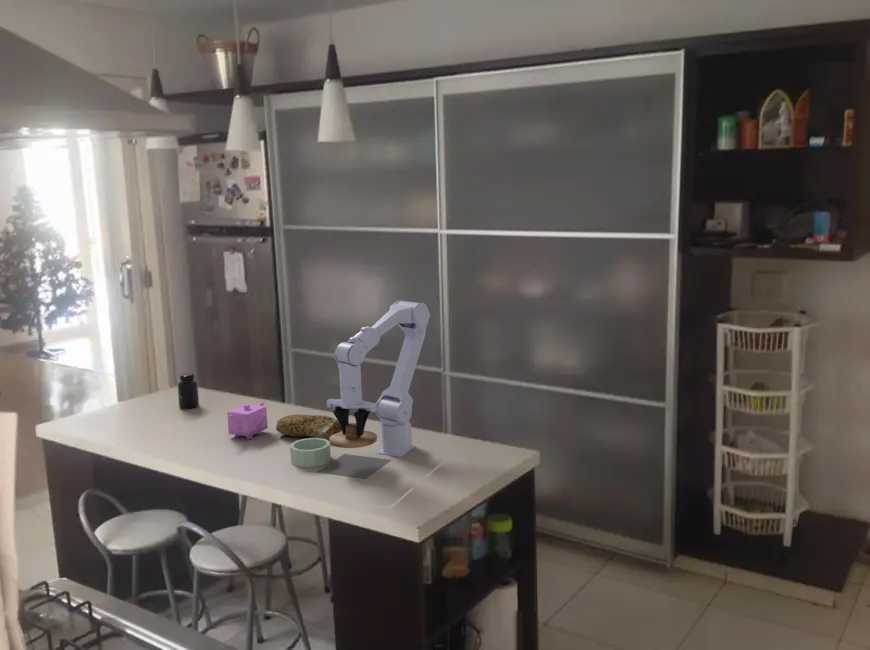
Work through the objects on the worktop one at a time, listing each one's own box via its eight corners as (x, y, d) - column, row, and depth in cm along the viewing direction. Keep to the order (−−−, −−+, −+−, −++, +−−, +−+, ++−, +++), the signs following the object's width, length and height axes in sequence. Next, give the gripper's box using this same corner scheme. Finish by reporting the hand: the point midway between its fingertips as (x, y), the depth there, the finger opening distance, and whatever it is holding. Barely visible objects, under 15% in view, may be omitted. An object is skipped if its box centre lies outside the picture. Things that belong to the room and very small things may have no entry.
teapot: (248, 446, 242) (246, 415, 241) (214, 441, 248) (212, 410, 246) (285, 429, 258) (283, 399, 256) (252, 424, 264) (250, 395, 262)
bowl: (305, 452, 235) (304, 436, 235) (337, 457, 231) (337, 440, 230) (283, 465, 226) (282, 448, 225) (317, 470, 221) (316, 452, 220)
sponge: (346, 438, 252) (300, 416, 262) (346, 417, 248) (299, 395, 258) (317, 457, 242) (270, 434, 252) (316, 436, 239) (269, 412, 249)
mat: (344, 455, 233) (344, 453, 232) (391, 461, 227) (391, 459, 226) (316, 473, 219) (316, 471, 219) (365, 480, 213) (365, 478, 213)
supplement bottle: (175, 409, 283) (172, 376, 281) (184, 404, 290) (182, 371, 288) (194, 409, 282) (191, 376, 280) (202, 404, 289) (200, 371, 287)
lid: (344, 430, 230) (343, 416, 229) (385, 435, 225) (384, 420, 224) (320, 444, 218) (319, 429, 217) (362, 450, 213) (362, 434, 212)
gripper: (319, 387, 218) (322, 436, 220) (367, 392, 212) (369, 441, 215) (333, 381, 224) (335, 428, 227) (379, 385, 218) (381, 433, 221)
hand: (353, 434), depth 221 cm, fingers closed on lid, 4 cm apart
